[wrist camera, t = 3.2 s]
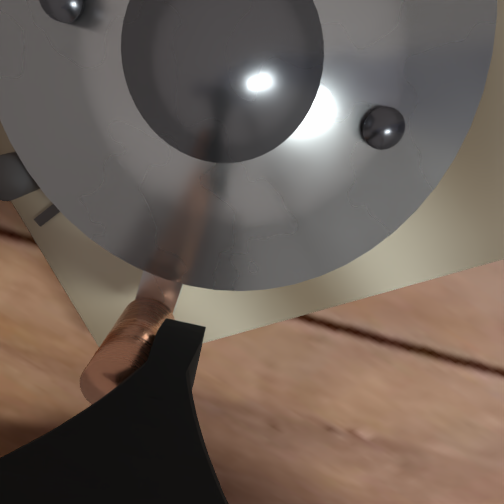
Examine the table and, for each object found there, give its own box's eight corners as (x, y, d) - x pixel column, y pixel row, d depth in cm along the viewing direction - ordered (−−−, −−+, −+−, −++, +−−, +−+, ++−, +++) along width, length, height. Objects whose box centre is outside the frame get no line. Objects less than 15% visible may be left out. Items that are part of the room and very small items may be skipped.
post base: (472, -491, 8) (586, -819, 5) (536, 225, 13) (606, 261, 11) (-143, -126, 10) (-292, -204, 8) (125, 344, 16) (95, 397, 13)
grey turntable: (35, -391, 7) (-212, -903, 3) (585, -114, 8) (837, -277, 5) (-26, 262, 12) (-149, 334, 9) (315, 375, 14) (331, 480, 10)
